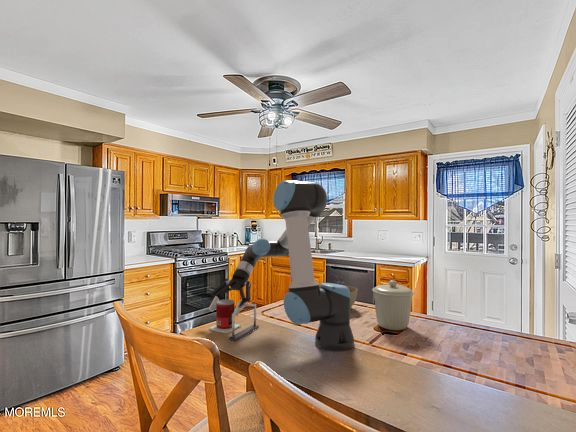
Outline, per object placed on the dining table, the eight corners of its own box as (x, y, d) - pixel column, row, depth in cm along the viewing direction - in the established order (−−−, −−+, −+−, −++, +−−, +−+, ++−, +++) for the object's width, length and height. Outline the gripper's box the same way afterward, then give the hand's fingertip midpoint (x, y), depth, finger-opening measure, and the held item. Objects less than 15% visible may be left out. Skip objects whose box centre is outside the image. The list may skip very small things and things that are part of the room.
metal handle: (258, 328, 144) (259, 298, 144) (234, 342, 128) (235, 309, 128) (253, 327, 145) (253, 297, 145) (228, 340, 129) (228, 308, 129)
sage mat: (241, 326, 145) (241, 324, 145) (227, 333, 136) (227, 331, 136) (223, 323, 150) (223, 321, 150) (208, 329, 141) (208, 328, 141)
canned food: (232, 329, 139) (232, 303, 139) (214, 329, 139) (214, 303, 140) (235, 323, 147) (236, 299, 147) (218, 323, 147) (218, 299, 147)
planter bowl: (321, 306, 179) (321, 286, 179) (345, 303, 186) (346, 284, 186) (338, 314, 164) (338, 293, 164) (363, 310, 171) (363, 290, 171)
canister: (407, 321, 155) (407, 277, 155) (419, 334, 137) (419, 285, 137) (369, 319, 157) (369, 276, 157) (375, 333, 139) (375, 283, 139)
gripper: (267, 279, 152) (250, 320, 138) (225, 275, 163) (204, 312, 150) (262, 270, 147) (242, 311, 134) (218, 266, 158) (196, 304, 145)
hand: (222, 312), depth 142 cm, fingers open, 13 cm apart
